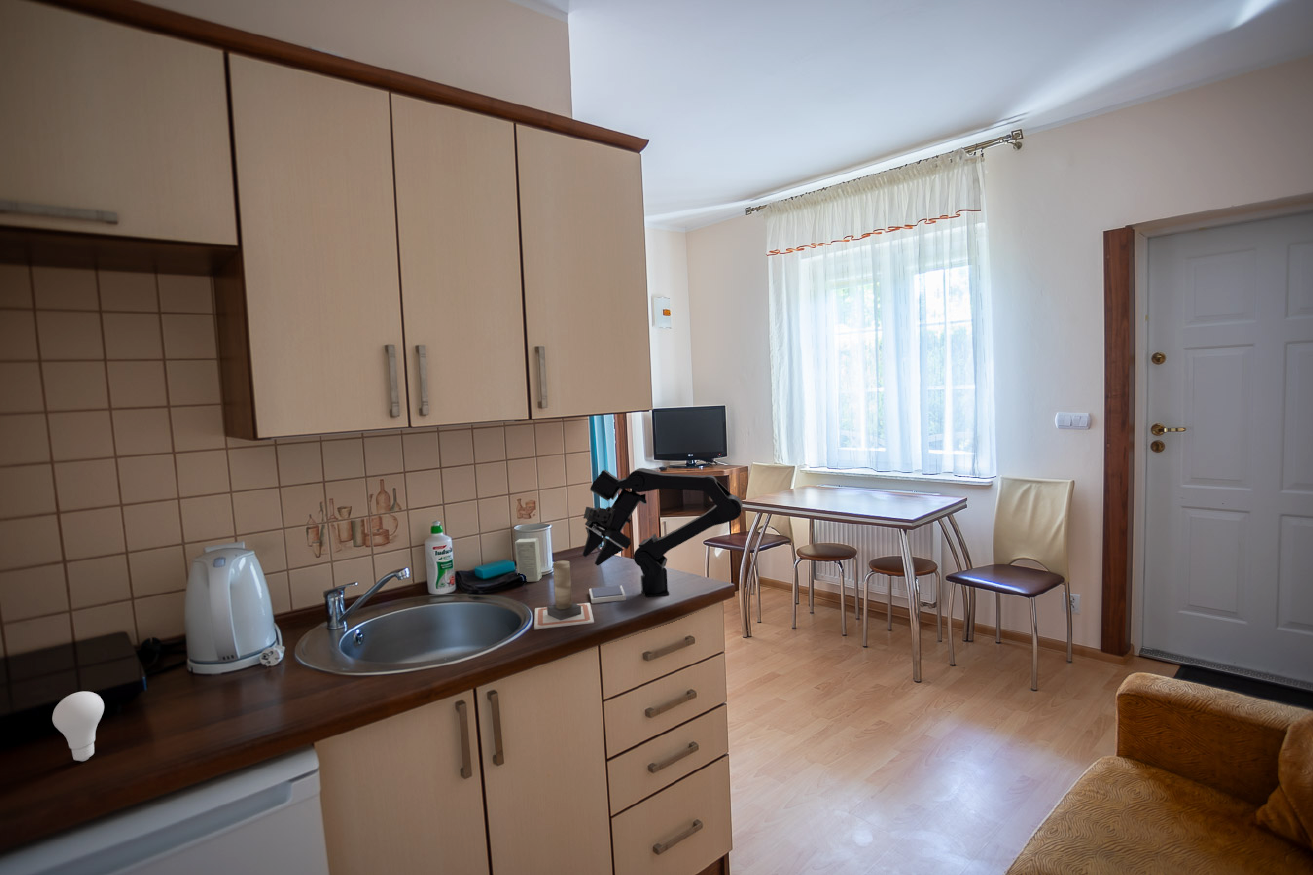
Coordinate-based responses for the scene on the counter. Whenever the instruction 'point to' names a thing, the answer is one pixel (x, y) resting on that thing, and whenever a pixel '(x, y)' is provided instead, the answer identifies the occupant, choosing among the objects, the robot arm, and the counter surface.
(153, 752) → the counter surface
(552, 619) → the board
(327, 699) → the counter surface
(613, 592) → the ink pad
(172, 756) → the counter surface
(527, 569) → the skincare box
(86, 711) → the lightbulb
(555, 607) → the stamp
